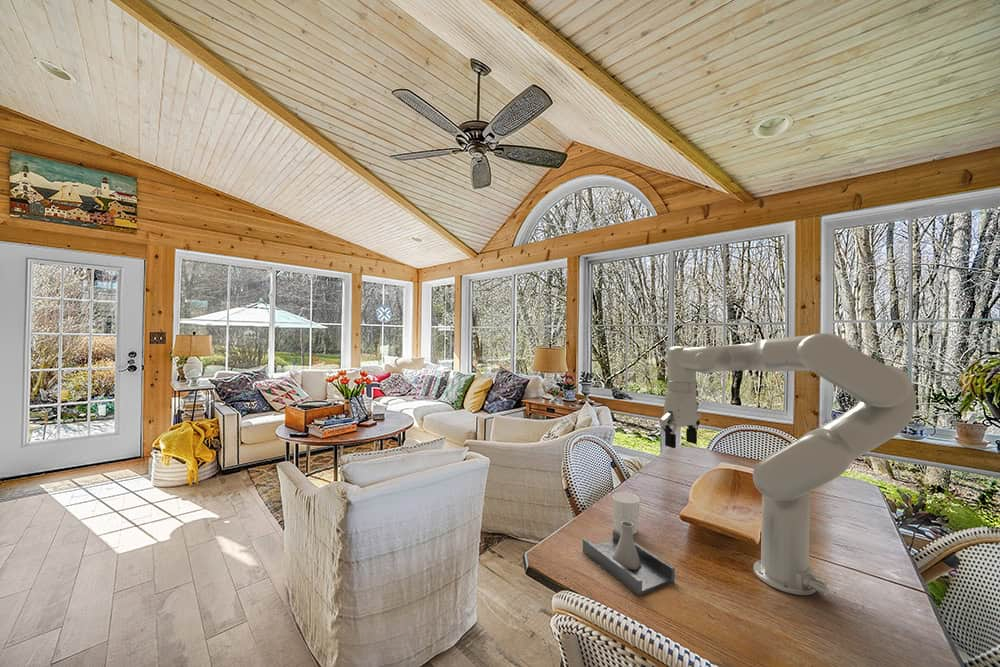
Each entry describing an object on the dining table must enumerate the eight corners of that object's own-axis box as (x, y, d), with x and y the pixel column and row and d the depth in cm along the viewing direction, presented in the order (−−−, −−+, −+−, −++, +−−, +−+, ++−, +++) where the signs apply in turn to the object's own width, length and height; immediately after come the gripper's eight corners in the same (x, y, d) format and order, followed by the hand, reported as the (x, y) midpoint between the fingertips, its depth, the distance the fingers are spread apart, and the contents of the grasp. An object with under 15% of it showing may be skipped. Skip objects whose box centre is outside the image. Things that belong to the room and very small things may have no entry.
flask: (642, 558, 101) (643, 520, 101) (639, 573, 95) (640, 533, 95) (614, 551, 105) (615, 514, 105) (609, 565, 98) (610, 526, 98)
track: (674, 582, 94) (674, 567, 94) (638, 596, 88) (639, 581, 88) (615, 542, 111) (615, 529, 111) (582, 551, 106) (582, 539, 106)
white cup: (641, 538, 114) (641, 504, 114) (613, 534, 115) (614, 501, 115) (637, 525, 122) (637, 493, 122) (611, 522, 123) (611, 491, 123)
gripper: (688, 384, 122) (688, 438, 122) (651, 387, 114) (650, 445, 114) (711, 387, 116) (710, 444, 115) (673, 390, 107) (673, 452, 107)
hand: (681, 444), depth 114 cm, fingers open, 9 cm apart
